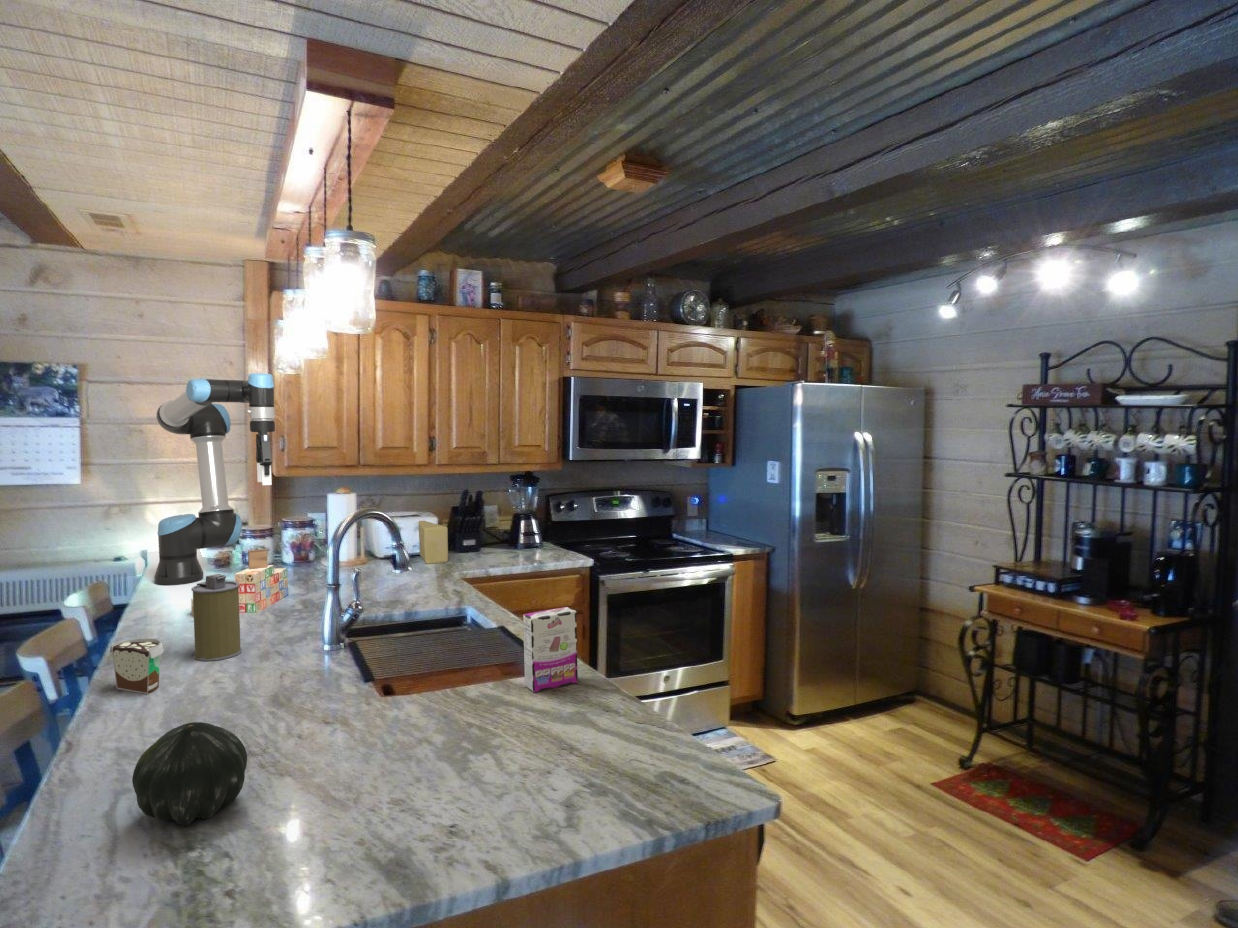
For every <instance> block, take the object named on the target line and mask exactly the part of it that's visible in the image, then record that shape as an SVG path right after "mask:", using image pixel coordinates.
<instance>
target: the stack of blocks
mask: <svg viewBox="0 0 1238 928" xmlns="http://www.w3.org/2000/svg"><path fill="white" fill-rule="evenodd" d="M234 582H238V583H239V614H242V613H244V614H245V613H248V614H249V613H250V614H251V613H252V614H255V613H258V612H261V611H263V610H264V609H266V608H268V607H270V606H271V605H273V604H275V603H277V602H279V601H280V600H282V599H284V598H286V597H288V596H289V578H288V568H287V567H286V568H284V567H283V568H279V567H278V568H275V564H267V567H266V568H255V569H249V567H247V568H245V569H243V570H240V571H238V572H236V573H235V574H234Z"/></svg>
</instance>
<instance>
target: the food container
mask: <svg viewBox="0 0 1238 928" xmlns="http://www.w3.org/2000/svg"><path fill="white" fill-rule="evenodd" d="M110 644H111V645H110V646H109V647H110V650H109V653H111V656H112V662H113V663H112V665H113V670H114V671H113V672H114V678H115V687H116V689H117V690H121V691H127V692H133V693H138V694H139V693H140V694H145V695H149V694H151V693H153V692H156V691H157V690H158V689H159V684H160V666H161V655H162V654H163V653H164V652H165V650H164V646H163V643H162V642H161V640H160V639H157V638H153V637H152V638H151V637H149V638H148V637H147V638H146V637H143V638H142V637H141V638H133V639H132V638H131V639H126V640H120V641H116V642H112V643H110Z"/></svg>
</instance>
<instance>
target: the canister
mask: <svg viewBox="0 0 1238 928" xmlns="http://www.w3.org/2000/svg"><path fill="white" fill-rule="evenodd" d="M226 579H227V576H226V575H225V574H220V573H214V574H211V575H207V576H205V581H203V582H199V583H196V585H194V586H193V587H191V588H190V589H191V591H192V599H193V610H194V616H193V633H194V635H193V636H194V655H193V658H194V659H195V661H196V660H197V661H200V662H216V661H221V660H227V659H231V658H233V657H236V656H238V655H239V654H241V653H242V651H243V650H242V647H241V622H240V619H241V618H240V613H239V583H238V582H235V581H231V580H229V581H227V580H226Z"/></svg>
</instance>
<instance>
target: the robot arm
mask: <svg viewBox="0 0 1238 928" xmlns="http://www.w3.org/2000/svg"><path fill="white" fill-rule="evenodd" d="M247 376H248V378H247V379H245V380H242V379H240V380H239V379H233V380H232V379H215V378H214V379H212V378H201V377H200V378H192V379H189V380H188V381H187V384H186V387H185V392H183V393H182V394H180V395H179V396H178V397H176V398H175V399H174V400H168V401H166V402H164V403H162V404H161V405H160V406H159V407H158V409H157V411H156V417H155V418H156V420H157V421H156V422H158V424H159V426H160V427H161V428H163V429H164V430H165V431H167V432H169V433H172V434H176V435H189V437H190V441H191V442H192V443H194V444H195V448H196V449H195V450H196V458H197V459H196V460H197V470H198V478H199V486H200V487H199V488H200V497H201V509H200V510H199V511H198V512H197V513H198V517H196V515H195V514H193V513H184V514H177V515H172V516H169V517H165V518H162V519H161V520H160V521H159V522H158V523H157V524H158V527H157V537H158V559H159V561H158V565H157V568H156V571H155V573H154V575H153V577H154V578H153V579H154V584H156V585H162V586H169V585H170V586H172V585H182V584H183V585H184V584H189V583H195V582H198V581H201V580H203V579H204V572H203V571H204V570H203V569H202V566H201V564H200V562H199V559H198V554H197V553H198V551H197V550H200V549H201V550H202V549H209V548H218V547H225V546H229V545H230V546H231V545H233V544H236V543H237V541H239V539H240V537H241V534H242V528H243V527H242V526H243V523H242V519H241V516H240V515H239V514H238V513H235V512H234V510H235V509H234V508H233V507H232V506H230V504H229V498H228V487H227V480H226V479H227V478H226V469H225V460H224V452H223V451H224V450H223V441H225V439H226V435H227V434H229V432H230V431H231V426H232V425H231V423H232V422H231V421H232V420H231V418H230V414H229V412H228V410H227V408H226V407H225V406H224V405H222V404H221V403H241V404H248V407H249V409H247V413H248V414H249V419H250V421H249V430H250V432H251V433H257V434H256V435H255V446H256V448H255V453H256V454H255V461H256V478H257V479H256V480H257V483H261V486H272V484H273V483H272V481H273V480H272V463H273V460H272V452H271V451H272V450H271V435H270V434H268V433H273V432H275V431H276V422H275V421H274V420H275V417H276V416H275V415H276V411H275V394H274V393H275V392H274V391H275V384H274V377H273V375H272V374H270V373H260V372H259V373H258V372H257V373H249V374H248V375H247Z"/></svg>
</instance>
